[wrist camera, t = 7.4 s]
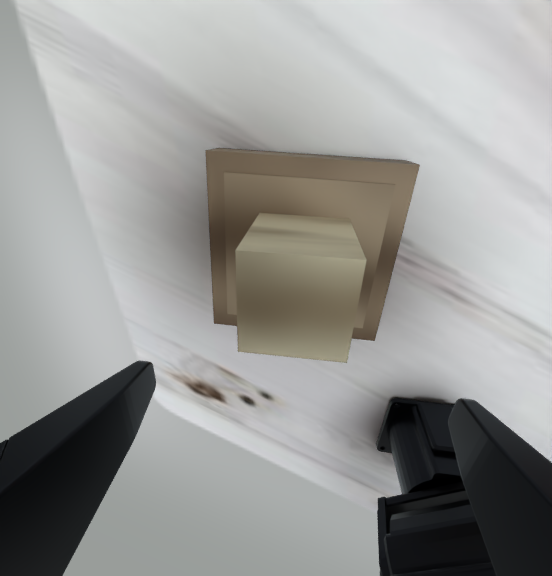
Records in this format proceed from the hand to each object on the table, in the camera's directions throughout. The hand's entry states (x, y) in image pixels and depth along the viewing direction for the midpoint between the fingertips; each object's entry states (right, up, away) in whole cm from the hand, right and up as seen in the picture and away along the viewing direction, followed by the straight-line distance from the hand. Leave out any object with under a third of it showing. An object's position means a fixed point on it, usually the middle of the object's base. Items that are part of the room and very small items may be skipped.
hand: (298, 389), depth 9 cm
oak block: (+1, +5, +9) cm, 10 cm away
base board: (+1, +6, +11) cm, 13 cm away
